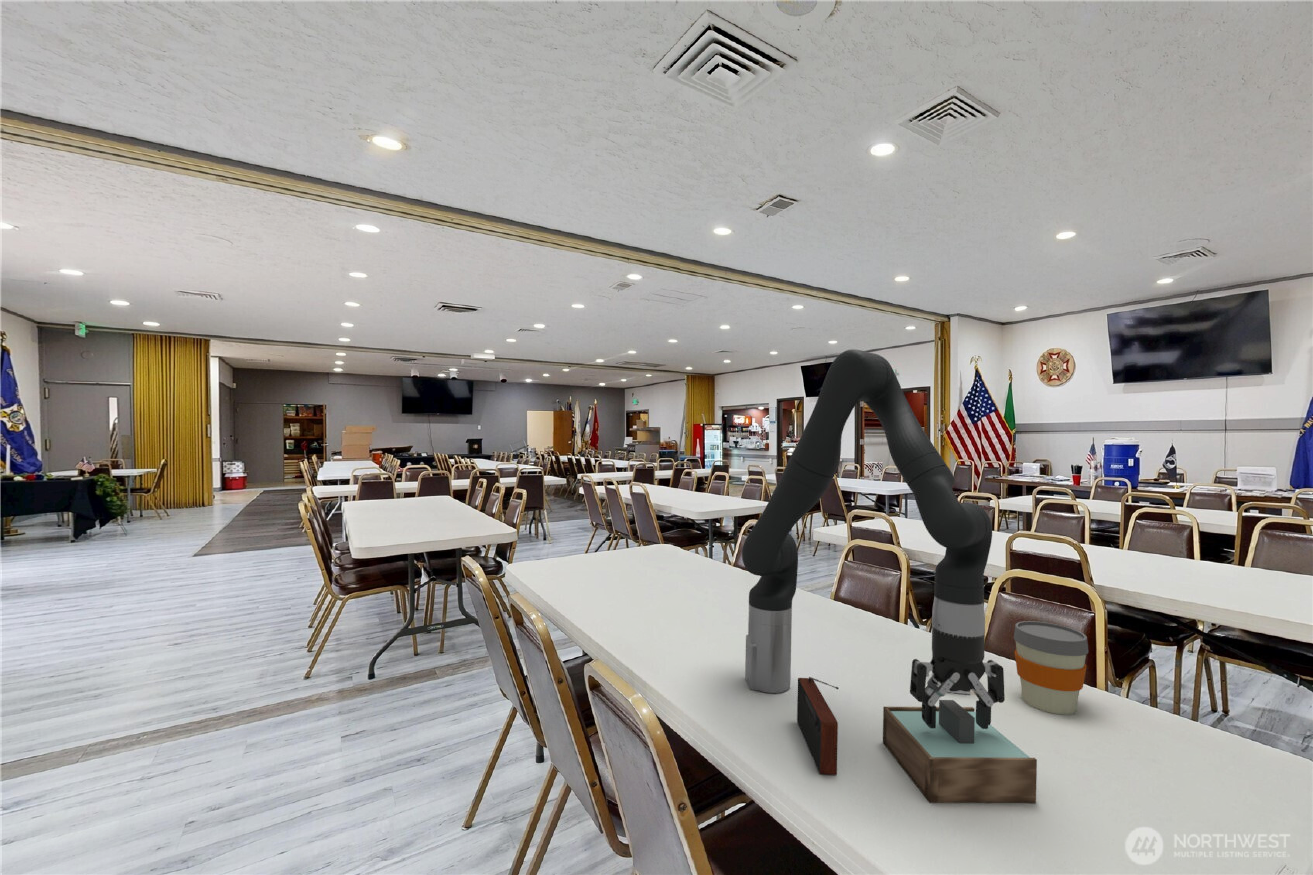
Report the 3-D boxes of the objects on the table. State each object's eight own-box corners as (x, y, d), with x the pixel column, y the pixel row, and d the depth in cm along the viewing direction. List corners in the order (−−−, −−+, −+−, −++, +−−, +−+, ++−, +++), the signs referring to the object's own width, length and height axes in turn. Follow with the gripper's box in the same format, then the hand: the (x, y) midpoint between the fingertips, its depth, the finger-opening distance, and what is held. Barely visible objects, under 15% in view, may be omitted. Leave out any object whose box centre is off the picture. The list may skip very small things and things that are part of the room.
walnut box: (929, 802, 82) (930, 759, 82) (882, 742, 98) (883, 706, 98) (1036, 802, 82) (1036, 759, 82) (972, 743, 98) (972, 707, 98)
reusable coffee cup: (1066, 724, 106) (1067, 645, 105) (999, 696, 117) (1000, 625, 117) (1100, 710, 111) (1101, 636, 111) (1033, 685, 122) (1035, 617, 122)
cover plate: (933, 765, 83) (934, 731, 83) (890, 716, 97) (890, 688, 97) (1032, 765, 83) (1032, 732, 83) (974, 717, 98) (975, 688, 98)
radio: (794, 722, 105) (796, 642, 105) (811, 722, 105) (812, 643, 105) (820, 783, 86) (822, 686, 86) (840, 784, 86) (842, 687, 86)
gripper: (926, 634, 86) (924, 738, 86) (1016, 635, 87) (1014, 739, 87) (903, 618, 94) (901, 714, 94) (986, 619, 94) (985, 715, 94)
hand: (956, 726), depth 90 cm, fingers open, 8 cm apart
